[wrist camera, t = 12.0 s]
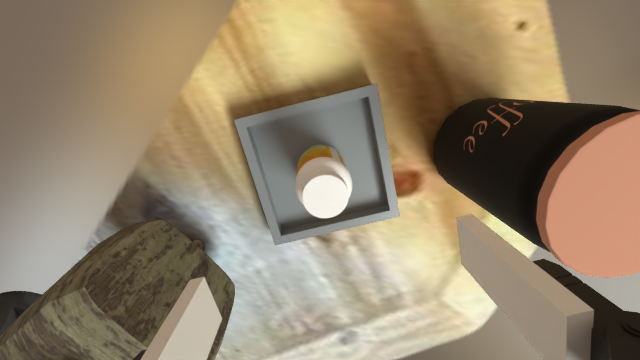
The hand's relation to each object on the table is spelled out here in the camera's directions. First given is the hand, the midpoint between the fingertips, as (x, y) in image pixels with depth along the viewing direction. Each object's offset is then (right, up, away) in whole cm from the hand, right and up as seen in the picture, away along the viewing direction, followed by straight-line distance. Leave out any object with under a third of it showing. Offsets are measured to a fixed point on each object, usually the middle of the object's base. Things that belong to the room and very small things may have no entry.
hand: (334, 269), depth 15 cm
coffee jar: (+17, +9, +20) cm, 28 cm away
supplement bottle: (-1, +6, +19) cm, 20 cm away
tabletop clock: (-17, -5, +23) cm, 29 cm away
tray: (-1, +6, +20) cm, 21 cm away
